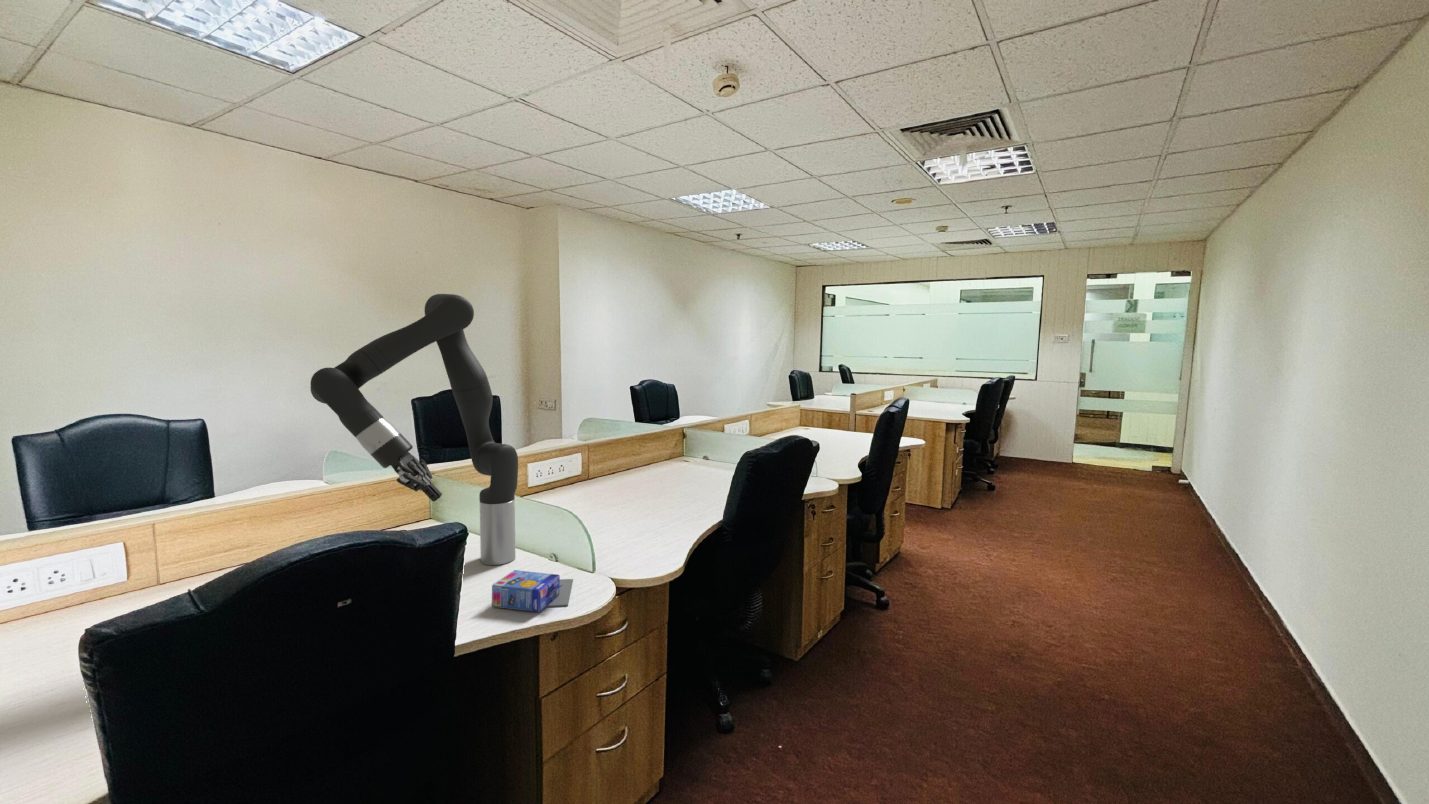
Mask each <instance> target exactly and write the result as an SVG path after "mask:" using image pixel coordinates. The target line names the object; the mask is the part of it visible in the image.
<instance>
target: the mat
mask: <svg viewBox="0 0 1429 804" xmlns="http://www.w3.org/2000/svg"><path fill="white" fill-rule="evenodd" d="M573 582H574V578H566V579H565V578H562V579H560V584H559V586H561V585H563V586H561V587H560V588H559V595H558V596H557V597H556V598H555V599H554V600H553V601H551V602H550V603H549V604H548V605H547V606H546V607H545V608H558V607H559V608H560V607H568V606H569V603H570V597H571V592H572V588H573V587H572V586H573Z"/></svg>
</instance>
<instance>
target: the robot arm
mask: <svg viewBox="0 0 1429 804" xmlns="http://www.w3.org/2000/svg"><path fill="white" fill-rule="evenodd" d="M423 310H424V316H423V317H421V318H419V319H418V320H416V321H414V322H412V323H410V324H408V325H406V326H404V327H402V328H399V329H397V330H394V331H391V332H389V333H386V334H385V335H382V336H380V337H378V338H376V339H374V340H372V341H370V342H369V343H367V344H366V345H364V346H362V347H360V348H358V349H357V350H355V351H353V353H351V354H350V355H349V356H348V357H347V358H346V359H345V360H344V361H342V362H341V363H339V364H337V365H336V366H335V367H322V368H320V369H318V370H316V372H314V373H313V375H312V376H311V379H310V393H311V395H312V397H313V398H314V399H315V400H316V401H318V402H319V403H322V404H325V405H327V406H328V407H329V408H330V410H332V411H333V412H334V413H335V414H336V416H337V417H338V420H339V421H340V423H341V424H342V425H343V426H344V428H346V430H348V432H350V433H351V435H352V436H353V437H354V438H355V439H356V440H357V441H358V443H359V444H360V445H361V447H362V448H364V450H365V451H366V452H367V453H368V454H369V455H370V456H371V457H372V458H373V459H374V460H375V461H376V462H377V464H379V466H380V467H382V468H383V469H387V468H389V467H390V466H391V467H392V469H393V471H394V472H395V473H396V474H397V475H398V476H399V477H397V478H396V482H397V483H398V484H400V485H402V486H404V487H407V488H408V489H410V490H412V491H414V492H418V491H420V492H423V493H424V494H425V495H426V496H427V498H429V499H430V501H432V502H433V503H434V502H436V501H438V499H440V498H441V497H442V496H443V493H442V492H441V491H440V490H439V488H438V487H436V486H435V485H434V483H433V481H432V479H433V475H432V473H431V471H430V468H429V466H428V465H427V462H426V460H425V459H423V458H421V459H420V460H418V459H417V458H416V457H415V456H414V455H413V454H411V452H410V451H411V450H412V449H413V447H414V446H413V445H412V443H410V441H409V440H408V439H407V437H405V436H404V435H403V434H402V433H401V432H400V431H399V430H398V429H397V428H396V427H395V426H394V425H393V424H392V423H391V422H390V421H389V420H387V419H386V418H385V417H384V416H383V414H381V413H380V412H379V411H378V410H377V409H376V408H375V406H373V405H372V404H371V403H370V402H369V401H368V400H367V399H366V397H365V395H363V393H362V392H361V391H360V388H362V387H363V386H364V385H366V383H368V382H369V381H371V380H373V379H375V378H377V377H379V376H380V375H382V374H383V373H385V372H387V370H390V369H391V368H392V367H394V366H395V365H397V364H399V363H400V362H402V361H403V360H405V359H407V358H408V357H410V356H412V355H414V354H415V353H417V352H418V351H420V350H421V349H424V348H426V347H428V346H430V345H431V344H434V343H435V342H436V344H437V346H438V349H439V352H440V355H441V359H442V363H443V366H444V368H445V372H446V375H447V377H448V381H449V385H450V388H451V391H452V395H453V397H454V400H455V402H456V405H457V409H458V411H459V414H460V418H461V421H462V425H463V427H464V431H465V435H466V439H467V444H468V449H469V453H470V459H471V463H472V466H473V468H474V470H476V472H478V473H479V474H480V475H485V476H490V480H489V481H490V482H489V486H488V487H486V488H484V489H481V490H480V491H479V499H478V500H479V532H480V533H479V534H480V541H479V543H480V563H481V564H484V565H487V566H498V565H504V564H507V563H511V562H513V561H514V560H516V508H515V507H516V505H515V501H516V500H515V494H516V491H517V489H518V481H519V480H518V477H519V476H518V475H519V455H518V453H517V450H516V449H515V447H514V446H512V445H510V444H506V443H498V442H495V440H494V439H493V436H492V432H491V429H490V421H489V420H490V415H491V411H492V409H493V402H494V401H493V400H494V399H493V398H494V397H493V393H492V392H493V391H492V389H491V385H490V382H489V380H488V375H487V374H486V372H485V371H486V370H484V368H483V366H482V365H481V363H480V361H479V360H478V359H477V357H476V355H475V354H474V352H473V351H472V350H471V347H470V345H469V343H468V340H467V338H466V335H465V332H464V331H465V329H466V328H468V327H469V326H470V325H471V323H472V322H473V320H474V316H475V310H474V307H473V304H472V303H471V302H470V301H469V300H468V299H467V298H466V297H464V296H461V295H458V294H454V293H436V294H433V295H431V296H430V297H429V298H428V299H427V300H426V302H425V304H424V309H423Z"/></svg>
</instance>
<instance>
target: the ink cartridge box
mask: <svg viewBox="0 0 1429 804" xmlns="http://www.w3.org/2000/svg"><path fill="white" fill-rule="evenodd" d="M560 578H561V577H560V574H554V573H545V572H535V571H527V570H520V569H518V570H517V569H514V570H512V571H511V572H509V573H508V574H507V575H505V576H503V577H501V578H500V579H499V580H497V581H496V582H494V583H493V584H492V585H491V607H493V608H500V609H501V608H502V609H511V610H519V611H520V610H521V611H530V612H539V613H540V612H542V611H543V610H544V609H545V608H547V607H546V606H547V605H548V604H549V603H550V602H551V601H553V600H554V599H555V598H556V597H557V596H558V595H559V588H560V587H561V586H563V585H561V586H559V584H560Z"/></svg>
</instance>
